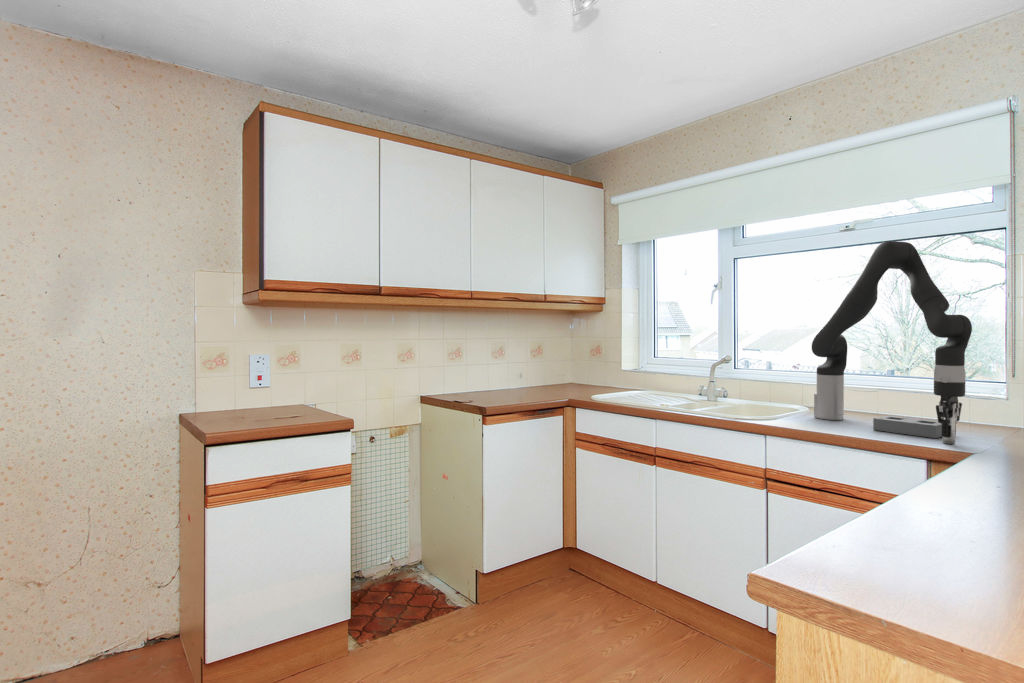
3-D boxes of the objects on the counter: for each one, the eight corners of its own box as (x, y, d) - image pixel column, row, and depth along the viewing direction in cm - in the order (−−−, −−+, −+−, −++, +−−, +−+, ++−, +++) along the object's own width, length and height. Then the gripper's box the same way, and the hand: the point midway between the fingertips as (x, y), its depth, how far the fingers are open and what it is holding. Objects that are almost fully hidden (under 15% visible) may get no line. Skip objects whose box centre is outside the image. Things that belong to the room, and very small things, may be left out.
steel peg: (940, 442, 166) (941, 413, 166) (944, 441, 168) (944, 412, 168) (952, 444, 164) (953, 414, 163) (956, 443, 165) (956, 413, 165)
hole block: (873, 429, 188) (873, 418, 188) (887, 426, 194) (887, 415, 194) (935, 438, 173) (936, 425, 173) (949, 434, 179) (949, 422, 179)
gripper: (943, 377, 172) (942, 432, 173) (925, 380, 164) (924, 437, 165) (973, 379, 166) (972, 435, 166) (956, 382, 158) (955, 441, 159)
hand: (948, 436), depth 166 cm, fingers closed on steel peg, 3 cm apart
